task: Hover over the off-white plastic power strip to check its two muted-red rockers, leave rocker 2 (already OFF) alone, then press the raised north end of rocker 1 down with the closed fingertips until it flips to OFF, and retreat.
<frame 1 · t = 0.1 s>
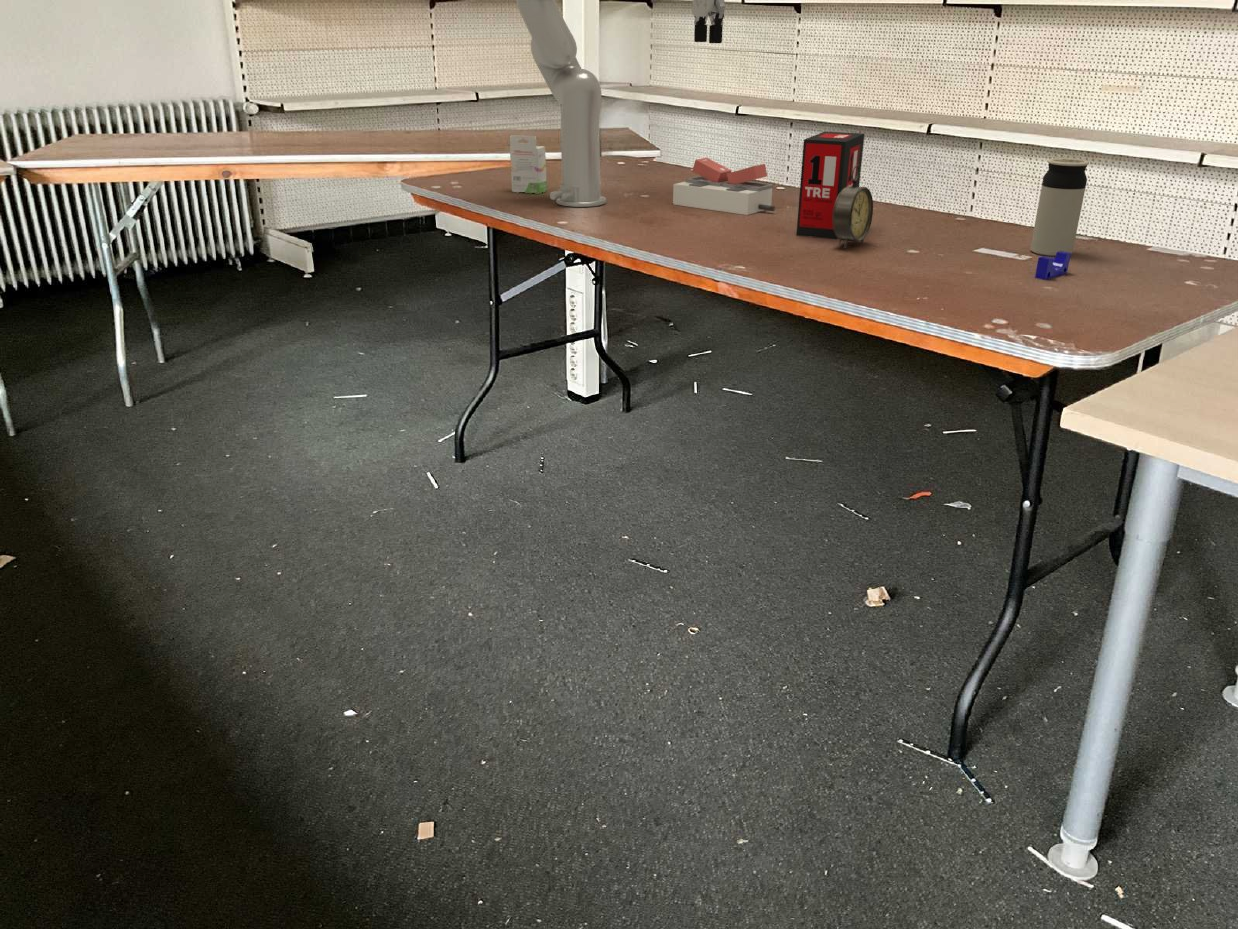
hand: (707, 42, 239), 37 cm above the table, tool pointing down, fingers open, 9 cm apart
travel mug: (1050, 253, 197), on the table
rocker 1: (711, 170, 244), point 8 cm above the table, hinge at 18.0°
alarm clock: (848, 246, 203), on the table
ink box: (529, 192, 262), on the table
cleaning product box: (826, 230, 217), on the table
rocker 2: (747, 174, 238), point 8 cm above the table, hinge at -18.0°
power strip: (721, 206, 243), on the table
cable holder: (1046, 276, 181), on the table
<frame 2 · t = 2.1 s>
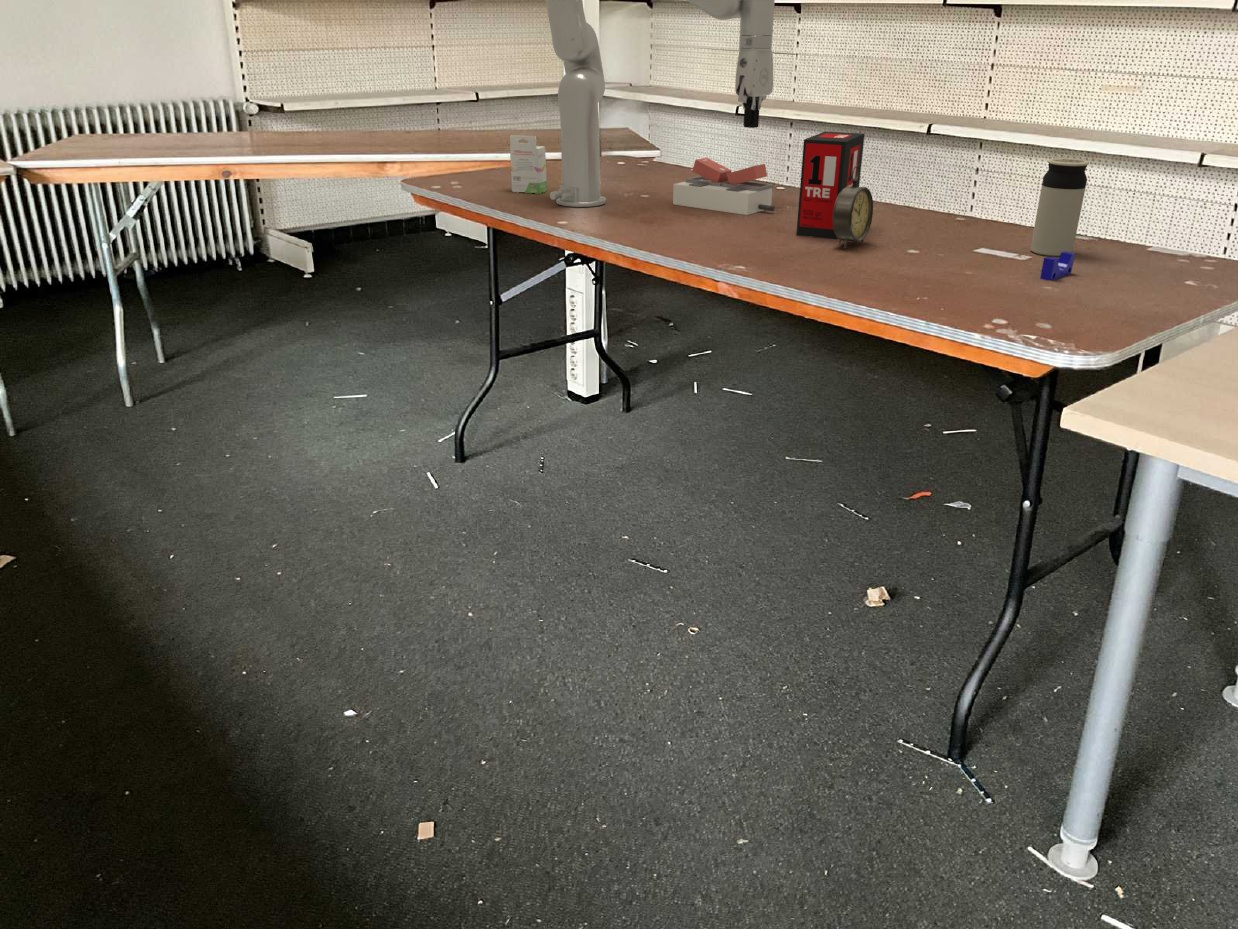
hand: (750, 126, 233), 19 cm above the table, tool pointing down, fingers closed
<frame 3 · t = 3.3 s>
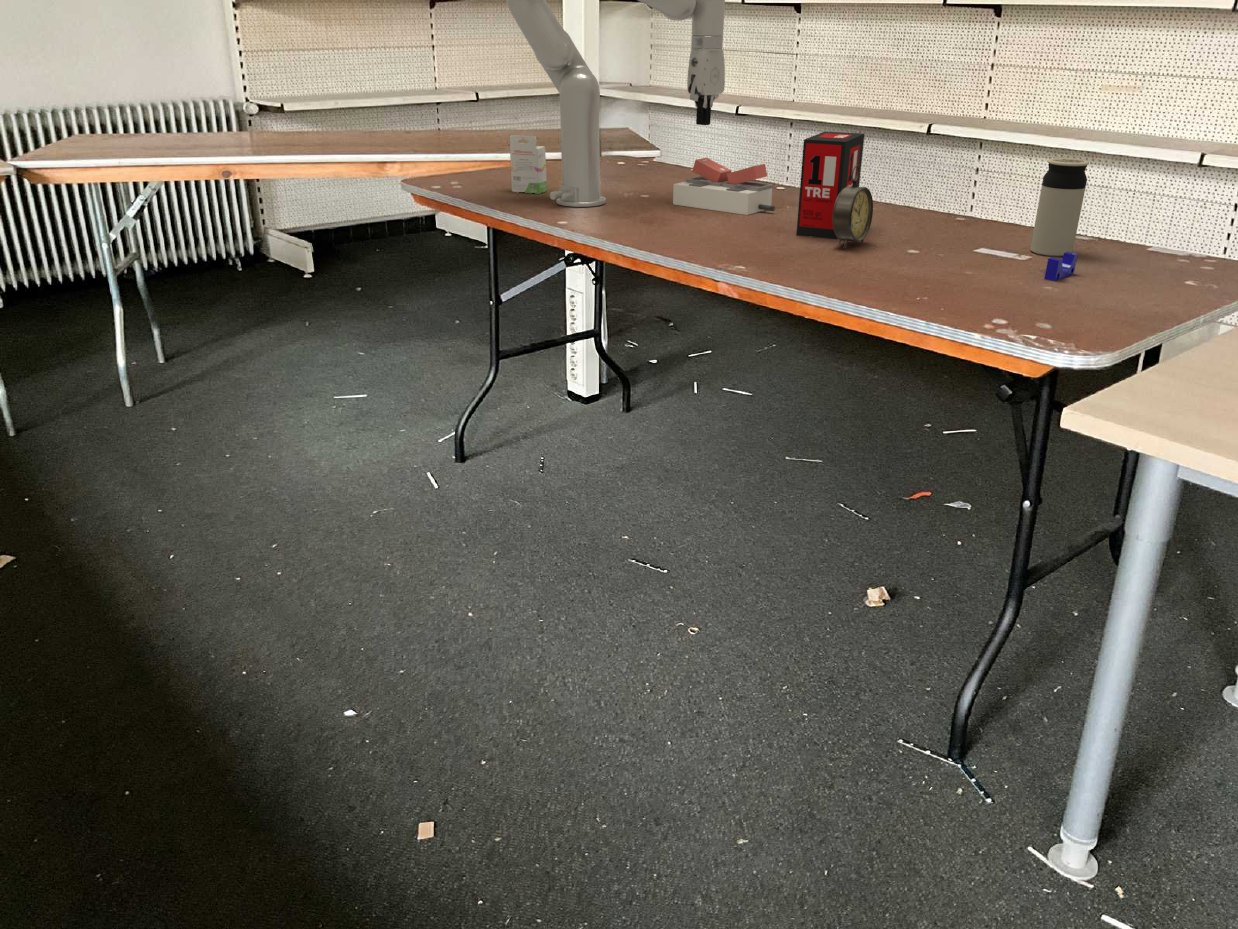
hand: (703, 124, 241), 19 cm above the table, tool pointing down, fingers closed
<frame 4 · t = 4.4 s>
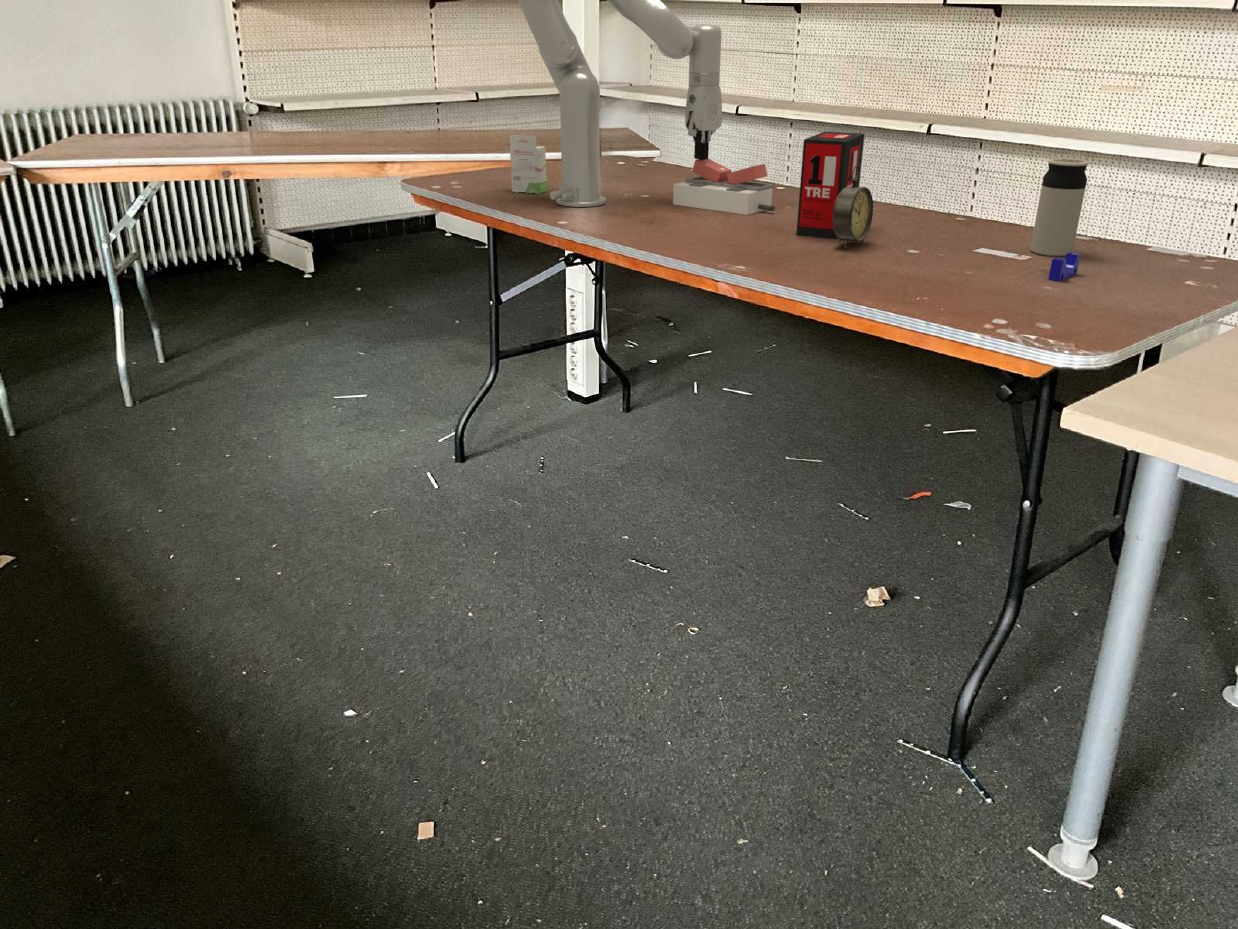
hand: (701, 158, 245), 11 cm above the table, tool pointing down, fingers closed
rocker 1: (711, 170, 244), point 8 cm above the table, hinge at 17.1°, touching gripper
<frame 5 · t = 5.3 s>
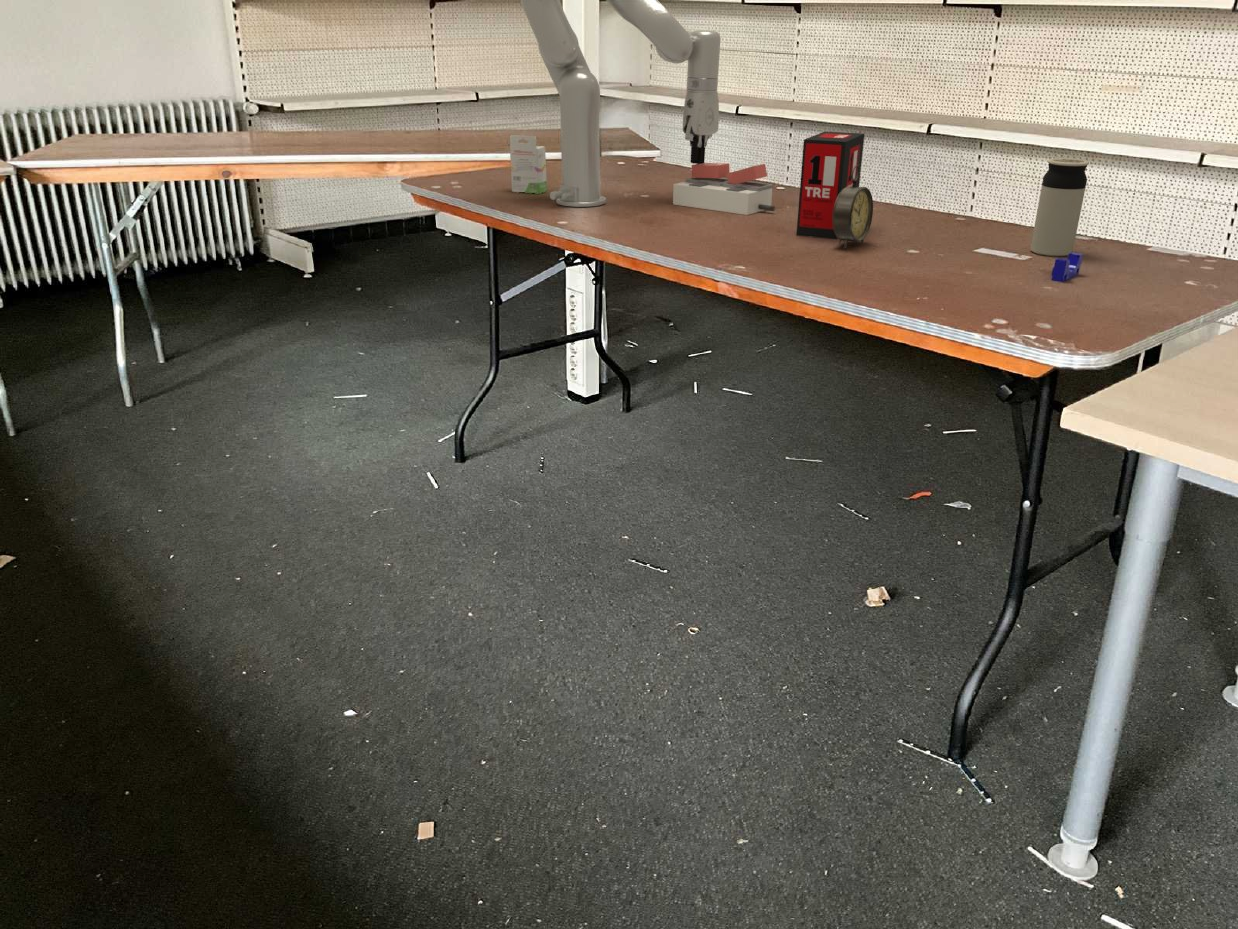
hand: (697, 163, 246), 9 cm above the table, tool pointing down, fingers closed
rocker 1: (710, 170, 244), point 8 cm above the table, hinge at -4.2°, touching gripper
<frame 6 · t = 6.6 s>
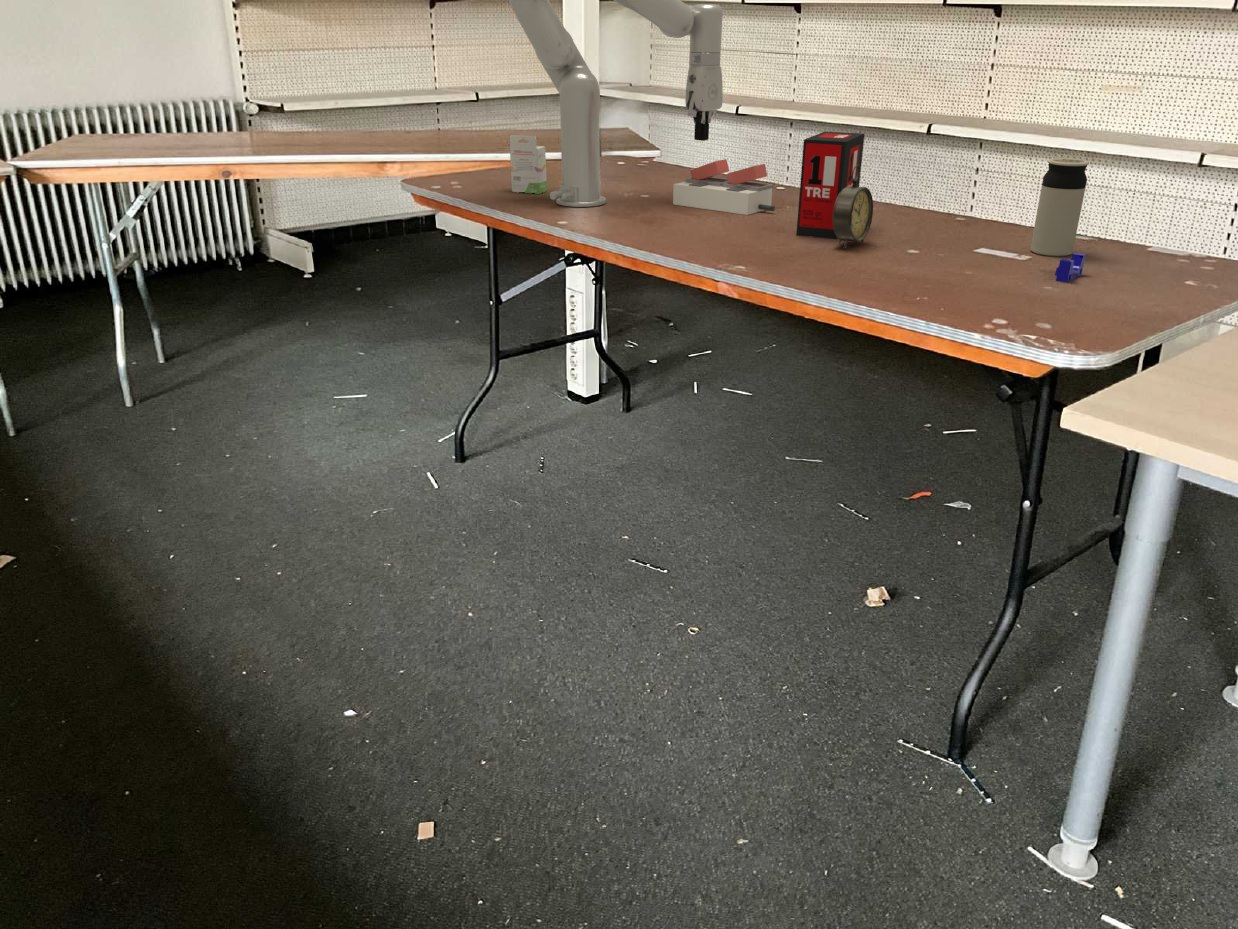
hand: (701, 139, 243), 15 cm above the table, tool pointing down, fingers closed
rocker 1: (709, 170, 244), point 8 cm above the table, hinge at -20.7°
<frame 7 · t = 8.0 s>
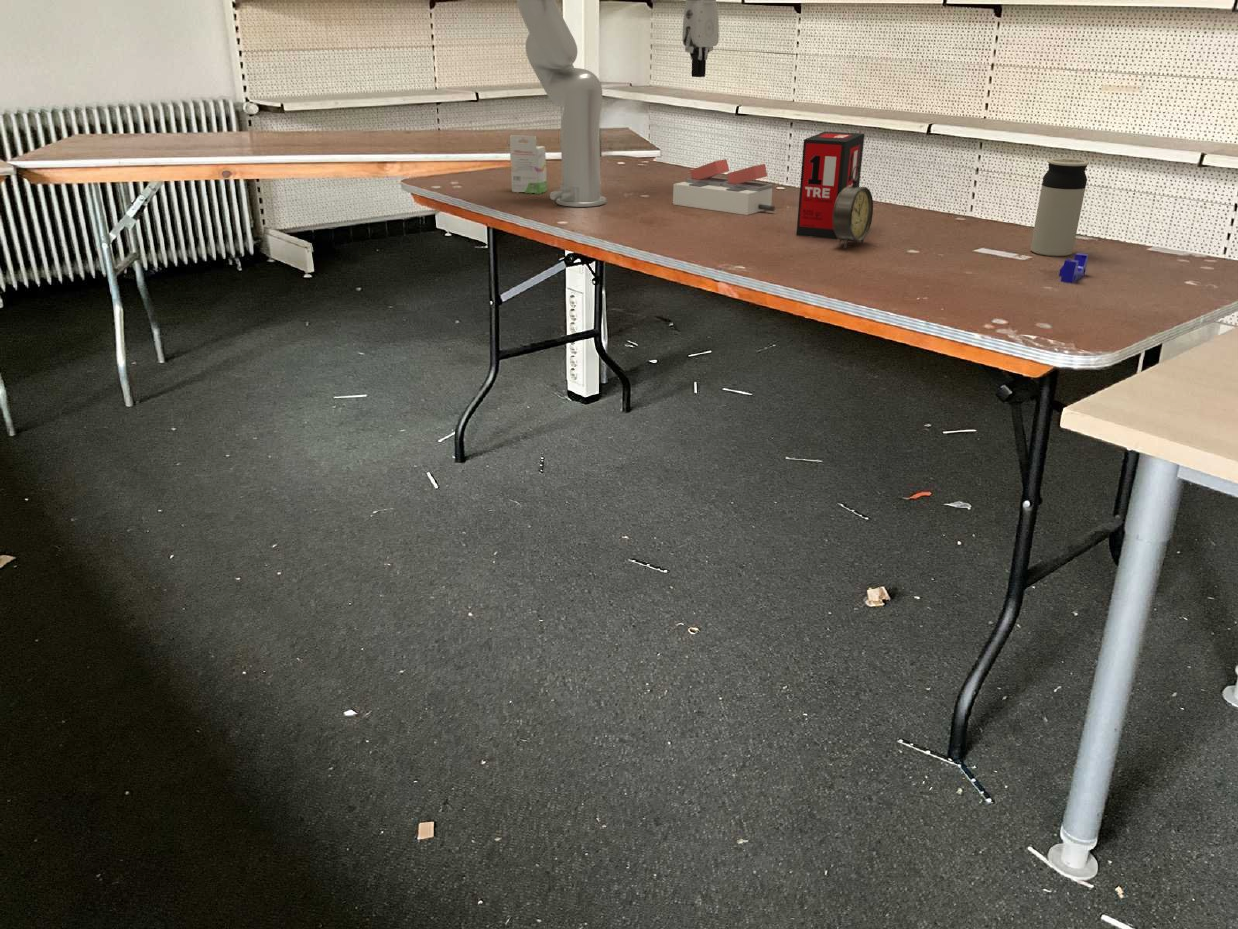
hand: (698, 76, 248), 29 cm above the table, tool pointing down, fingers closed
rocker 1: (709, 170, 244), point 8 cm above the table, hinge at -21.0°
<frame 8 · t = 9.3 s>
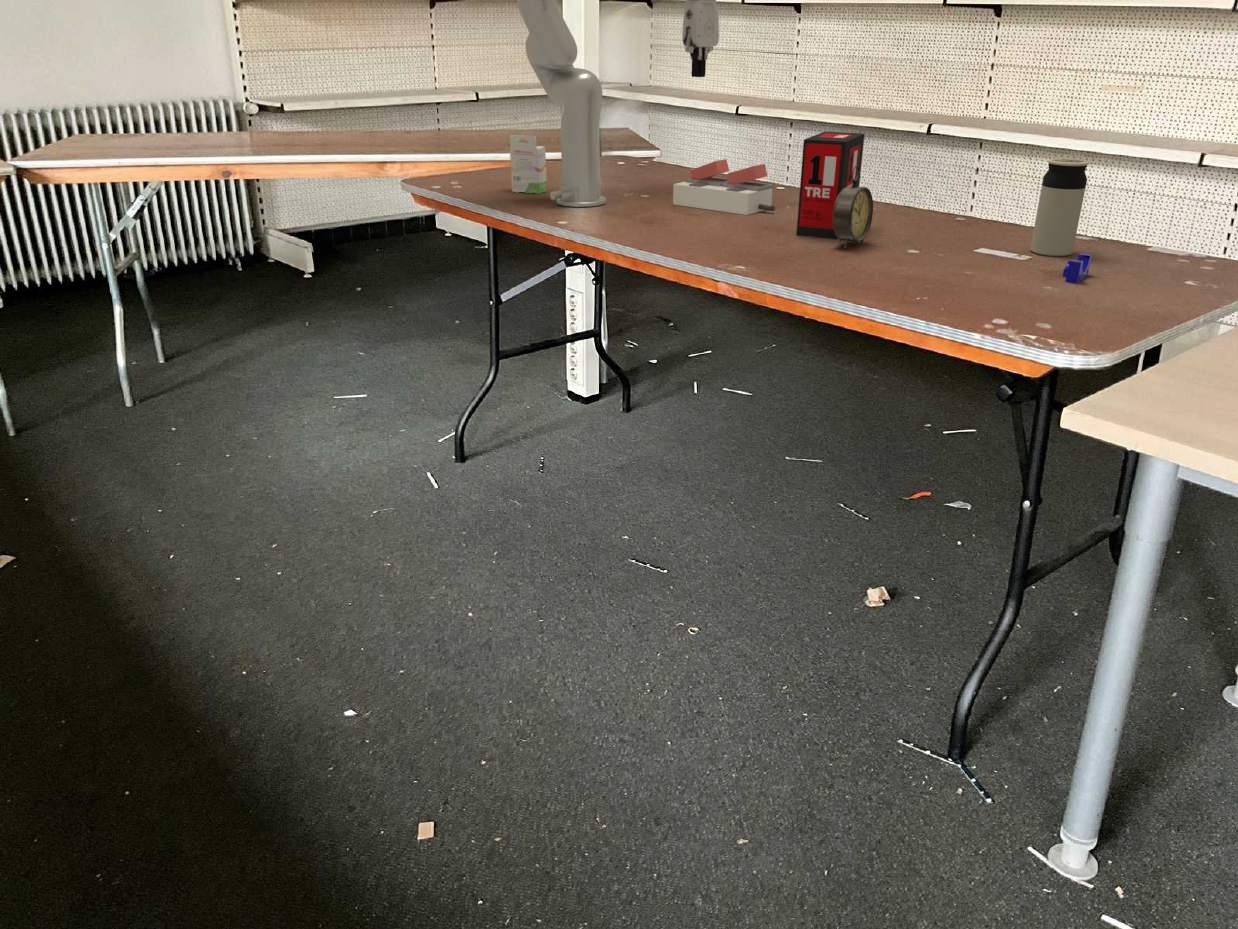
hand: (698, 76, 248), 29 cm above the table, tool pointing down, fingers closed
at the end: rocker 1 at -21° (first picture: +18°); rocker 2 at -18° (first picture: -18°) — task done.
